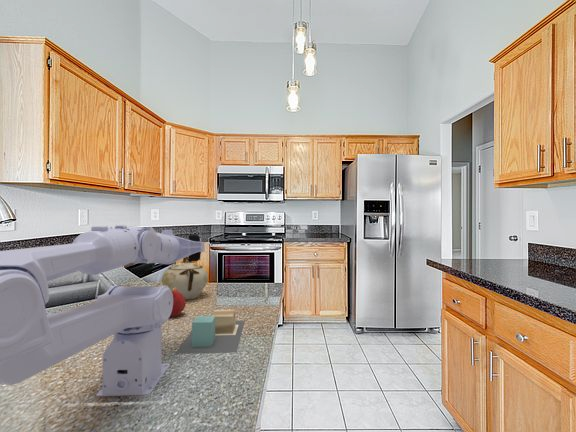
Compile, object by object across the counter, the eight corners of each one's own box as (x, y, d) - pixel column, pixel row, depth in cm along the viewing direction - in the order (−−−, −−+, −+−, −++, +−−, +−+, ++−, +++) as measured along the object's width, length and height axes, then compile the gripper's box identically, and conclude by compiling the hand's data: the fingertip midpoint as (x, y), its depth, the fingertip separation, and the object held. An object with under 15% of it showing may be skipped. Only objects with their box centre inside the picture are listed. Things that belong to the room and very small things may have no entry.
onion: (177, 322, 78) (178, 291, 78) (158, 320, 79) (158, 290, 79) (189, 314, 84) (189, 286, 84) (170, 313, 85) (171, 285, 85)
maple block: (232, 333, 69) (232, 316, 69) (210, 334, 69) (210, 316, 69) (235, 325, 74) (235, 309, 74) (214, 326, 74) (214, 309, 74)
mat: (236, 354, 59) (236, 352, 59) (174, 356, 59) (174, 353, 59) (244, 322, 77) (244, 320, 77) (197, 323, 77) (197, 321, 77)
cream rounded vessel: (158, 293, 107) (158, 251, 107) (200, 288, 114) (200, 249, 115) (165, 308, 90) (165, 258, 90) (215, 301, 97) (215, 254, 97)
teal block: (211, 346, 62) (211, 322, 62) (192, 346, 62) (192, 322, 62) (215, 338, 66) (215, 315, 66) (196, 338, 66) (196, 316, 66)
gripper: (193, 224, 58) (213, 231, 71) (119, 230, 58) (152, 236, 71) (194, 261, 57) (214, 261, 70) (118, 267, 57) (152, 266, 70)
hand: (183, 251), depth 71 cm, fingers open, 7 cm apart
